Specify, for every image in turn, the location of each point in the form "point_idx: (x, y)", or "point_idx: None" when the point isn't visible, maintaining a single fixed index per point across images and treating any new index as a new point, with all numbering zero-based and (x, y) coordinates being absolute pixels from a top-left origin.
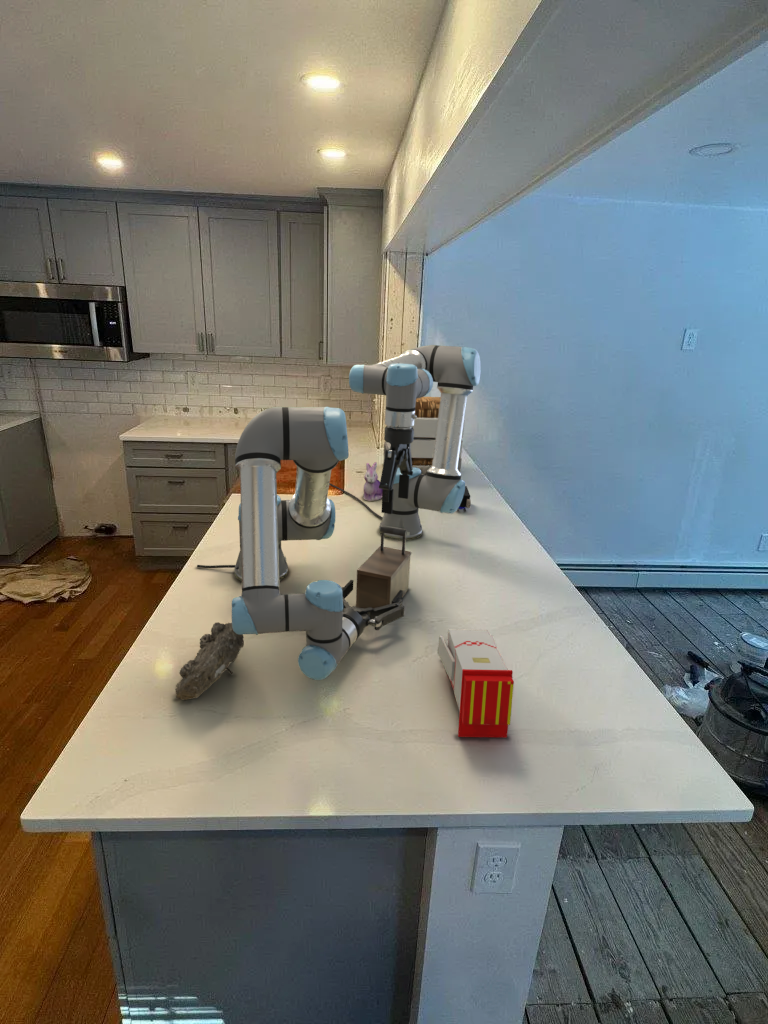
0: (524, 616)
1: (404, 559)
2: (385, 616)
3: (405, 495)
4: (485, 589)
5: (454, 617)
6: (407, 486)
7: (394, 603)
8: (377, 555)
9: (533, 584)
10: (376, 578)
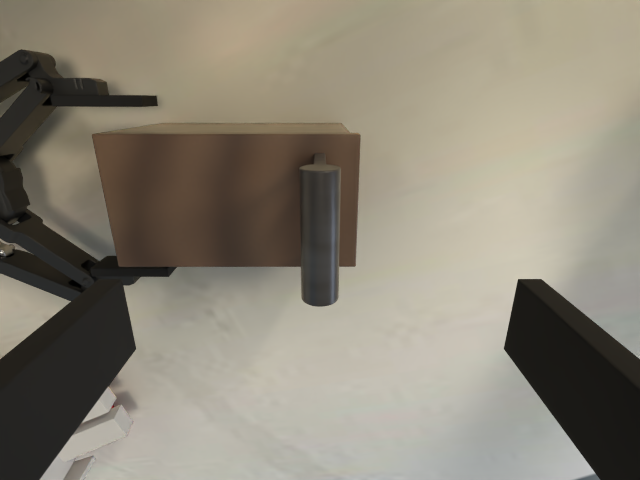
0: (322, 457)
1: (274, 265)
2: (12, 276)
3: (519, 351)
4: (415, 381)
5: (252, 348)
6: (568, 429)
7: (87, 277)
8: (260, 160)
9: (476, 458)
10: None
